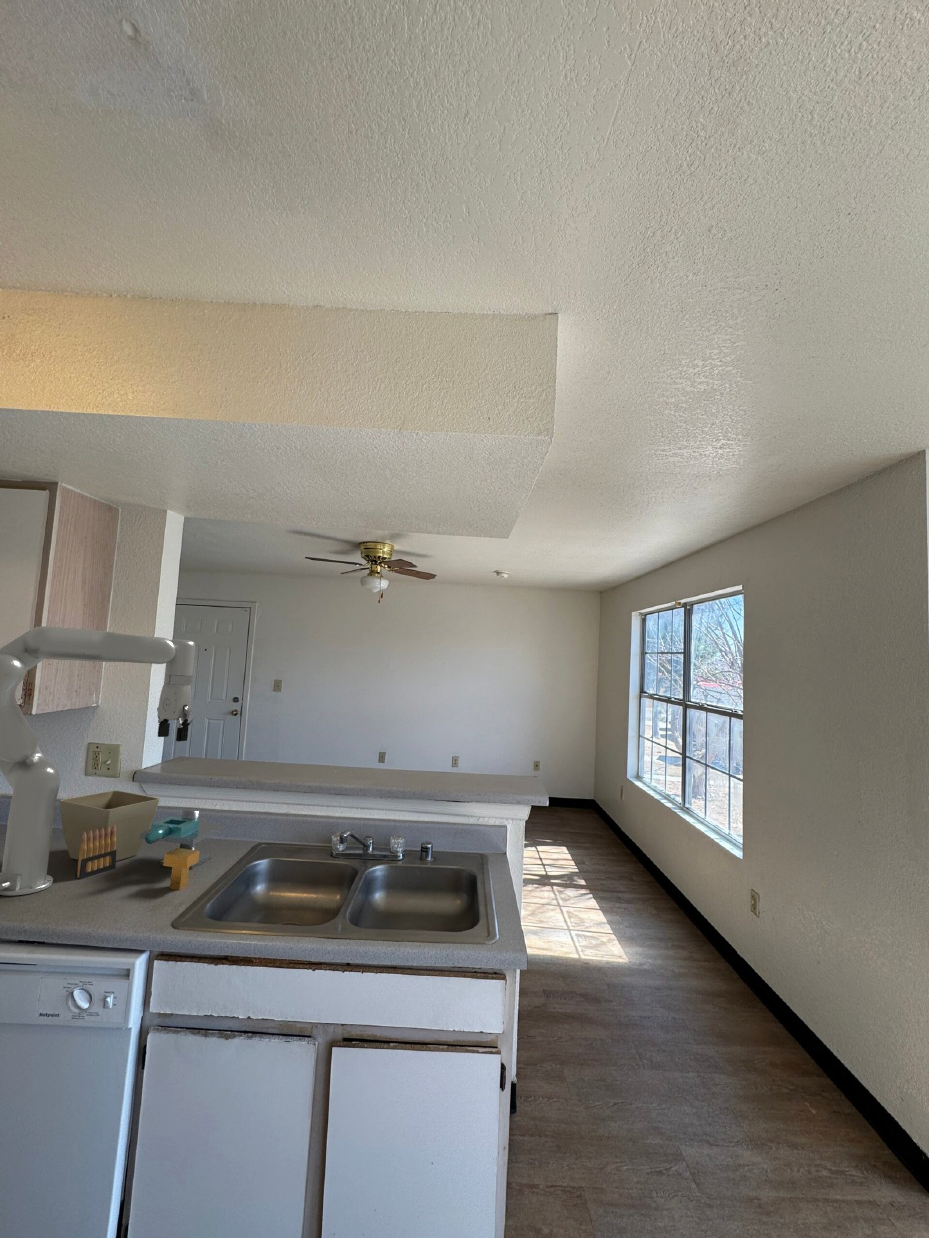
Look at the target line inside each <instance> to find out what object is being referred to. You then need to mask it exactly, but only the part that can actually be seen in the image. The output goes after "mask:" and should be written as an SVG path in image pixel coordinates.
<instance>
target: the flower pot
mask: <svg viewBox="0 0 929 1238" xmlns="http://www.w3.org/2000/svg"><path fill="white" fill-rule="evenodd" d="M160 801H161V800H160V798H159V797H155V796H151V795H150V796H149V795H144V794H139V793H134V792H128V791H124V790H117V789H116V790H115V789H114V790H108V791H102V792H96V793H91V794H85V795H80V796H74V797H69V798H64V799H60V800H59V805H60V807H59V809H60V816H61V817H60V818H61V825H62V830H63V835H64V836H63V837H64V840H65V844H66V848H67V852H68V854H69V858H70V859H73V860H77V859H78V858H79V850H80V846H81V839H82V835H83V833H84V832H85V833H86V845H87V839H88V834H89V832H90V830H91V831H92V835H93V837H94V833H95V830H96V829H97V830H98V836H99V835H100V831H101V829H102V827H103V829H104V840H105V833H106V830H107V828H108V827H109V828H110V837H111V831H112V828H113V826H114V825H115V827H116V849H115V850H116V862H117V861H122V860H124V859H127V858H131V857H134V856H135V857H136V856H137V855H138V854H139V852H140V849H141V848H142V846H143V843H144V842H145V839H139V838H140V833H141V832H144V831H146V830H149V829H151V825H152V824H153V823H154V822H153V821H154V819H155V816H156V813H157V809H158V807H159V804H160ZM98 842H99V837H98ZM92 843H93V839H92Z"/></svg>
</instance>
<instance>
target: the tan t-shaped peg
mask: <svg viewBox="0 0 929 1238" xmlns="http://www.w3.org/2000/svg"><path fill="white" fill-rule="evenodd" d="M199 854H200V850H199V849H198V850H197V849H196V850H190V849H182V848H179V847H176V848H174V849H172V850H170V851H168V852H166V853H165V854H164V858H163V860H164V865H162V866H164V867H170V868H171V876H170V884H169V889H170V890H178V891H180V890H182V889H183V888H186V887H187V886H188V881H189V870H190V869H189V867H190V866H192V865H194V864H196V863H197V862H198V860H199Z"/></svg>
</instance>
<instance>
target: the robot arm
mask: <svg viewBox="0 0 929 1238" xmlns="http://www.w3.org/2000/svg"><path fill="white" fill-rule="evenodd" d="M195 652H196V643H195V641H193V640H189V639H178V638H177V639H175V638H174V639H168V638H166V637H161V636H160V637H159V636H144V635H135V634H134V635H132V634H124V633H117V632H113V631H105V630H95V629H83V628H82V629H81V628H70V627H59V626H58V627H57V626H45V625H44V626H41V625H40V626H36V627H33V628H31V629H29V630H28V631H26V632H24V633H23V634H21V635H20V636H18V637H16V638H15V639H13V640H12V641H9V643H7V644H4V646H2V647H0V772H2V775H3V776H4V778H5V779H6V782H7V783H8V785H10V787H11V788H12V797H11V802H10V805H9V811H8V817H7V818H8V819H7V827H6V835H5V843H4V851H3V859H2V864H1V865H2V866H1V872H0V896H1V895H2V896H20V895H21V896H23V895H29V894H33V893H34V894H35V893H37V892H42V891H43V890H45V889H48V888H49V887H50V886H52V884H53V882H54V878H53V876H51V875H49V874H47V873H48V867H49V866H48V865H49V858H50V849H51V843H52V842H51V841H52V840H51V839H52V833H53V824H54V816H55V815H54V814H55V808H56V802H57V798H58V794H59V789H60V787H61V778H60V773H59V771H58V769H57V767H55V765H54V764H52V763H51V762H50V761H48V760H47V759H46V757H45V756H44V754H43V753H42V751H41V748H40V747H39V745H38V738H37V734H36V733H35V731H34V730H33V729H32V727H31V726H30V724H29V722H28V720H27V719H26V717H25V716H24V714H23V712H22V710H21V708H20V707H21V706H20V705H19V703H18V702H17V699H16V690H17V689H18V686H19V685H20V684H21V683H22V682H23V681H24V679H25V677H26V676H27V671H29V670H31V669H32V668H34V667H35V666H37V665H38V664H39V663H41V662H42V661H43V660H58V661H77V662H96V663H132V664H133V663H134V664H135V663H136V664H149V665H152V664H153V665H163V664H165V668H164V670H165V671H164V677H163V685H162V689H161V691H160V696H159V701H158V707H157V708H156V711H157V718H158V720H157V723H158V728H157V737H158V738H165V737H169V736H170V728H171V727H170V724H171V723H170V721H176V723H177V724H178V727H177V728H176V737H175V742H178V743H179V742H187V741H188V736H189V728H190V727H191V723H192V721H193V718H194V716H195V715H194V712H193V710H191V709H192V685H193V672H194V664H195V654H196V653H195Z"/></svg>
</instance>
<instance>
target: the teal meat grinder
mask: <svg viewBox="0 0 929 1238" xmlns="http://www.w3.org/2000/svg"><path fill="white" fill-rule="evenodd" d="M200 814H201V810H200V809H199V808H193V807H192V808H191V807H189V808H184V809H183V810H182V813H181V817H179V816H172V815H171V816H169V817H168V816H167V817H166V818H163V819H160V820H158V821H156V822H152V824H151V827H150V829H149V830H146V831H144V832H141V833H140V838H139V839H145V840H144V842H145V843H146V844H148V845H151V844H154V843H156V842H158V841H159V842H165V843H173V844H174V843H175V844H178V848H182V849H190V850H197V845H198V844H197V843H199V842H201V841H203V840H205V839H207V838H209V837H211V836H213V835H215V834H217V833H219V832H220V831H223V830H225V828H226V823H225V822H224V823H222V822H214V821H205V820H200V816H201V815H200ZM210 858H211V859H212V855H211V854H206V853H205V854H204V853H199V860H198V862H197V863H196V864H194V865H192V866H190V867H189V870H193V869H195V868H197V867H198V865H199V866H200V865H202V864H204V863H205V862H207V861H209V860H210ZM208 859H209V860H208ZM203 862H204V863H203ZM163 865H164V859H163V860H160V862H159V866H163ZM196 866H197V867H196Z"/></svg>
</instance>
